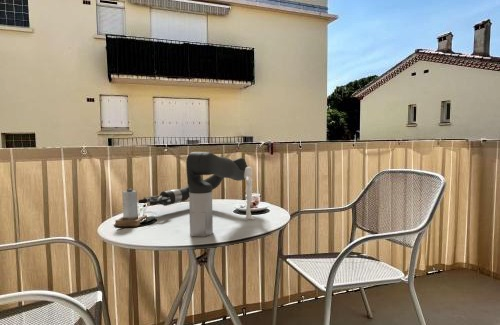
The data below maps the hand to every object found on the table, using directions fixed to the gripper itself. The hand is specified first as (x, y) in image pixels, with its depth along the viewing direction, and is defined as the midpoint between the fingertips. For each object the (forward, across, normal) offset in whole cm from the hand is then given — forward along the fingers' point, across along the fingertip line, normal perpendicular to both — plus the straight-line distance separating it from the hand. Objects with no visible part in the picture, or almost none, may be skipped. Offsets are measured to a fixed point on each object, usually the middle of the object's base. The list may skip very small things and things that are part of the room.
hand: (144, 202), depth 149 cm
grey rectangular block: (+8, 0, -7) cm, 11 cm away
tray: (+8, -1, -8) cm, 11 cm away
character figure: (-28, -41, -10) cm, 51 cm away
